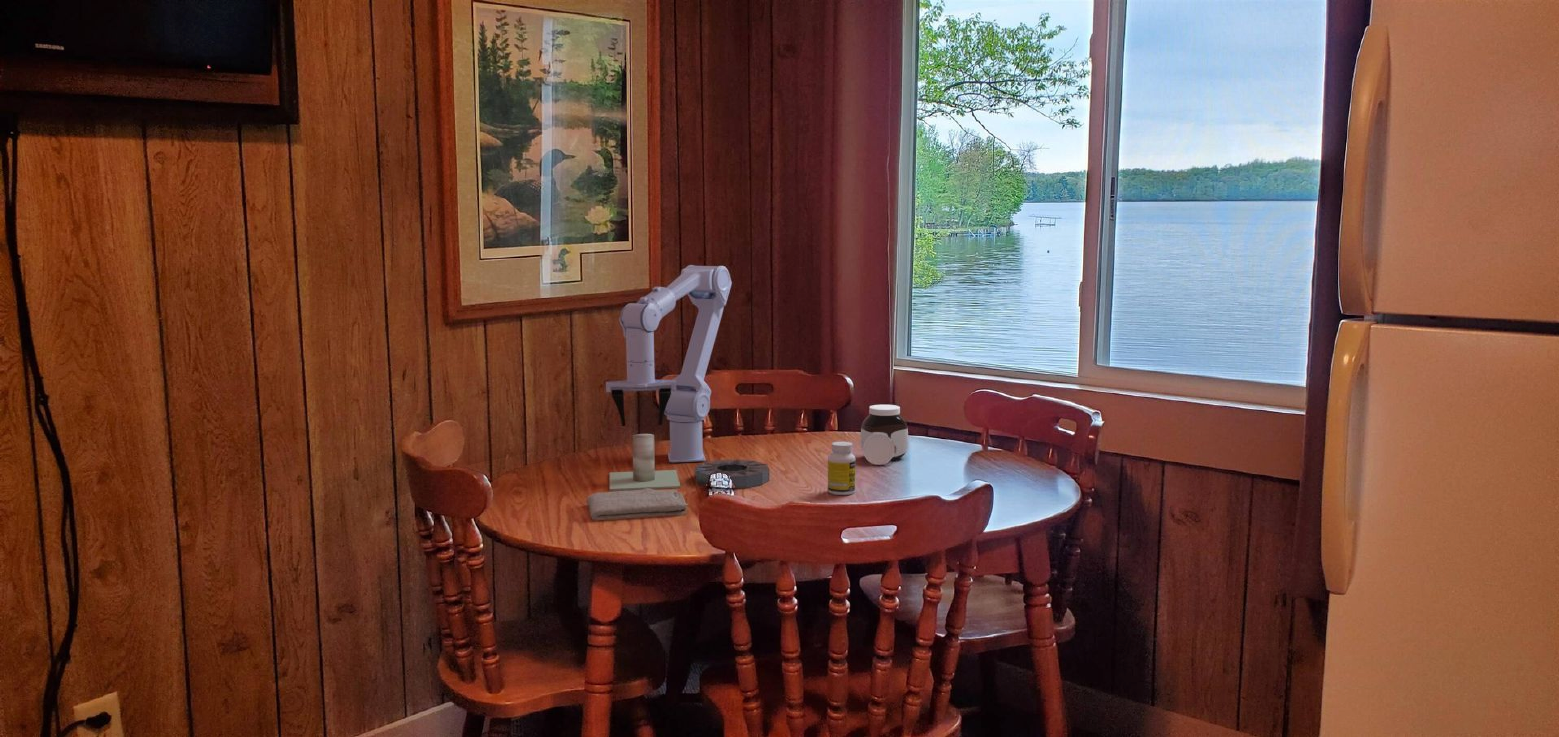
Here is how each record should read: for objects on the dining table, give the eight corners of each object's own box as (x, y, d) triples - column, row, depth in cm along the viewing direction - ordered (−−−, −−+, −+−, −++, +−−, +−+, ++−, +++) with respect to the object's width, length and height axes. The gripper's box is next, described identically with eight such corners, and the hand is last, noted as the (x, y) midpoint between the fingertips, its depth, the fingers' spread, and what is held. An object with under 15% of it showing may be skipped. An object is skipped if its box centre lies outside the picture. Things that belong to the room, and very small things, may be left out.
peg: (632, 476, 225) (632, 434, 224) (654, 476, 225) (653, 433, 224) (633, 481, 220) (632, 438, 219) (655, 480, 221) (654, 437, 220)
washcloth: (690, 517, 198) (690, 500, 197) (590, 524, 194) (590, 507, 193) (680, 500, 209) (680, 485, 209) (586, 507, 205) (585, 491, 204)
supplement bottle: (853, 496, 210) (853, 446, 209) (825, 495, 211) (825, 445, 210) (857, 489, 215) (857, 441, 214) (830, 488, 216) (830, 440, 215)
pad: (609, 474, 229) (609, 472, 229) (676, 471, 231) (676, 469, 231) (609, 490, 215) (609, 488, 215) (680, 487, 217) (680, 485, 217)
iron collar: (693, 472, 230) (693, 461, 230) (763, 469, 232) (763, 458, 232) (699, 490, 215) (698, 477, 215) (773, 486, 218) (773, 474, 217)
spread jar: (897, 453, 248) (898, 402, 246) (919, 463, 237) (919, 411, 236) (848, 457, 244) (848, 406, 243) (868, 468, 234) (868, 414, 232)
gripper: (605, 364, 222) (607, 429, 223) (676, 362, 224) (677, 427, 226) (605, 359, 228) (607, 423, 230) (674, 357, 231) (675, 420, 232)
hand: (642, 424), depth 228 cm, fingers open, 7 cm apart
